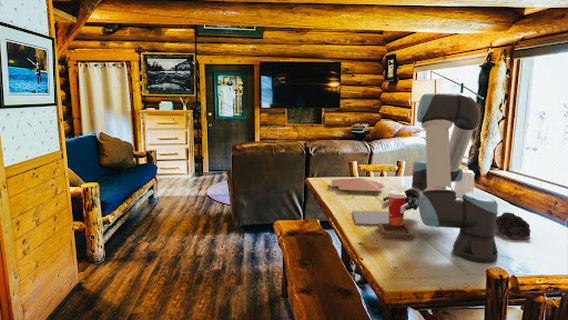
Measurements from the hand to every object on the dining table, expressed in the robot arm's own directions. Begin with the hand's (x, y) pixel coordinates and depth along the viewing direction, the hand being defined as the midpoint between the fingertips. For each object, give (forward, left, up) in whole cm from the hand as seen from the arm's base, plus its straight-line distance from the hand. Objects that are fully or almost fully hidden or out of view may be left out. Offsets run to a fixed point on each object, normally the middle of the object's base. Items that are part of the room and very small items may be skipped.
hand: (392, 207), depth 150 cm
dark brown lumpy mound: (+7, -53, -13) cm, 56 cm away
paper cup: (+4, -3, -9) cm, 10 cm away
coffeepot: (+61, -54, -13) cm, 82 cm away
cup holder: (+4, -3, -13) cm, 14 cm away
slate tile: (+22, +4, -13) cm, 26 cm away
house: (+76, +6, -14) cm, 77 cm away
